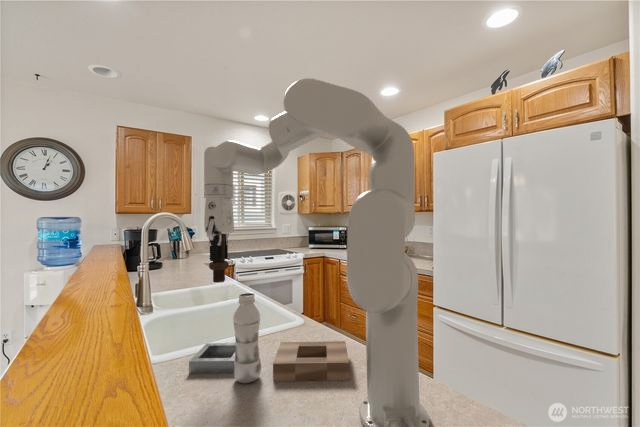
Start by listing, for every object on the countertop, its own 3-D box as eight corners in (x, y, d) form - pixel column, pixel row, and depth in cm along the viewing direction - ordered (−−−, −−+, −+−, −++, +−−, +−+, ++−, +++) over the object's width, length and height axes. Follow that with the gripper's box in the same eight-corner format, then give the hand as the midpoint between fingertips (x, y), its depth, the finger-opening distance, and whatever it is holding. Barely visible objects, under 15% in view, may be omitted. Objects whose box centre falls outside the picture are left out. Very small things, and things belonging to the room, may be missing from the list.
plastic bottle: (243, 391, 62) (242, 300, 63) (227, 379, 66) (227, 295, 67) (267, 378, 67) (266, 294, 67) (251, 369, 71) (250, 290, 72)
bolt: (221, 284, 72) (221, 226, 73) (204, 284, 73) (204, 227, 74) (233, 280, 78) (232, 226, 78) (216, 279, 79) (216, 226, 79)
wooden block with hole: (349, 380, 65) (349, 362, 66) (273, 381, 66) (273, 363, 66) (345, 355, 77) (345, 341, 77) (280, 356, 78) (280, 342, 78)
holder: (234, 373, 69) (234, 360, 69) (189, 373, 69) (189, 361, 70) (246, 353, 80) (246, 342, 80) (206, 354, 80) (206, 343, 80)
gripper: (221, 188, 68) (221, 264, 68) (241, 195, 85) (241, 256, 84) (191, 189, 68) (191, 264, 68) (216, 195, 85) (216, 256, 84)
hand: (219, 259), depth 76 cm, fingers closed on bolt, 3 cm apart
